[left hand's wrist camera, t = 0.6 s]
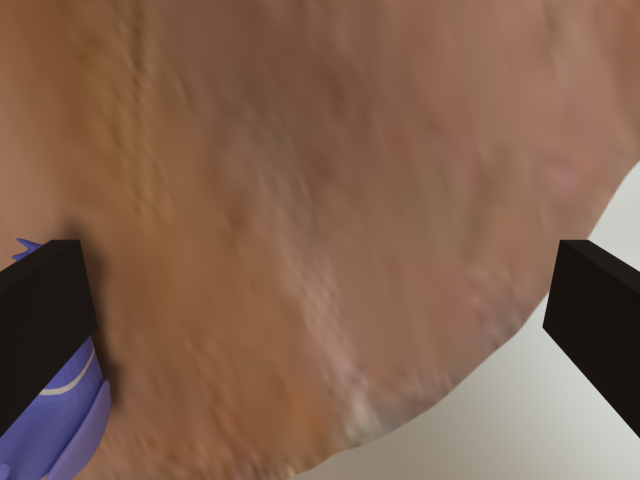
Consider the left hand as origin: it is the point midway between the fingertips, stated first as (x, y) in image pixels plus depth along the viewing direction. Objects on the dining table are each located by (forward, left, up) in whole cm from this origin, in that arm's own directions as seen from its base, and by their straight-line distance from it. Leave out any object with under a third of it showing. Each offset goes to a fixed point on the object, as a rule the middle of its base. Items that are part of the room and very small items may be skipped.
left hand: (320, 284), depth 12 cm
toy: (+19, -24, -27) cm, 40 cm away
